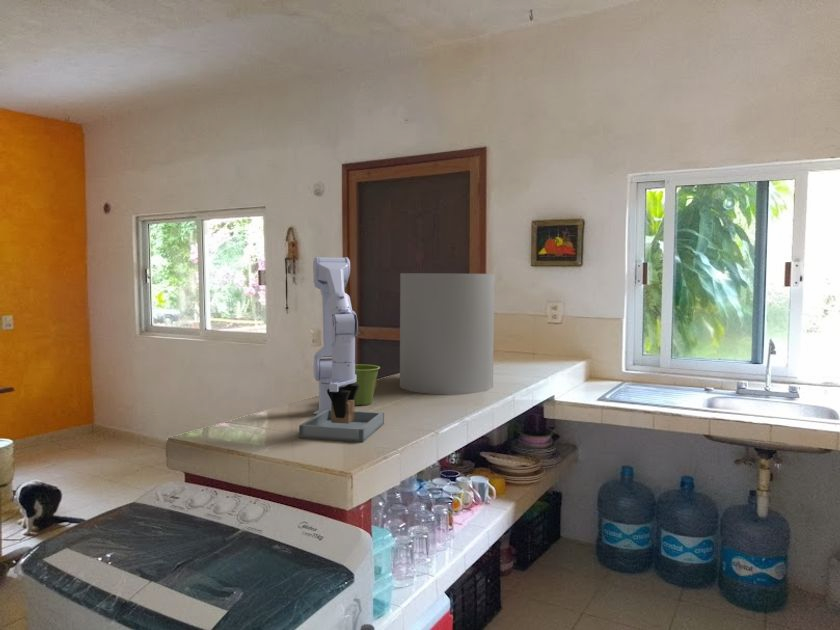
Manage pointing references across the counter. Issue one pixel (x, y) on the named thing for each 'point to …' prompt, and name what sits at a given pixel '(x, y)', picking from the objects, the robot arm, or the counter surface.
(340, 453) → the counter surface
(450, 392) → the cylinder container
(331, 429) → the bin
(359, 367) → the plant pot
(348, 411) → the block
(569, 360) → the counter surface
